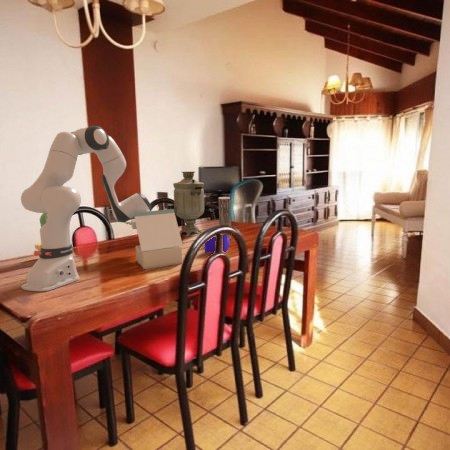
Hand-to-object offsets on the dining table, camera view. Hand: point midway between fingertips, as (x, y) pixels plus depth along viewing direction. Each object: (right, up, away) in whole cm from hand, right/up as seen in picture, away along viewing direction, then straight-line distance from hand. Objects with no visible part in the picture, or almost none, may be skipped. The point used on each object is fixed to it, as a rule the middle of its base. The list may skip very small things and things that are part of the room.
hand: (156, 224), depth 170 cm
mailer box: (+1, -18, +3) cm, 18 cm away
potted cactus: (-56, -17, +16) cm, 61 cm away
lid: (+1, -2, -1) cm, 3 cm away
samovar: (+7, -6, +69) cm, 69 cm away
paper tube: (+32, -9, +48) cm, 59 cm away
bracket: (+30, -13, +25) cm, 41 cm away
